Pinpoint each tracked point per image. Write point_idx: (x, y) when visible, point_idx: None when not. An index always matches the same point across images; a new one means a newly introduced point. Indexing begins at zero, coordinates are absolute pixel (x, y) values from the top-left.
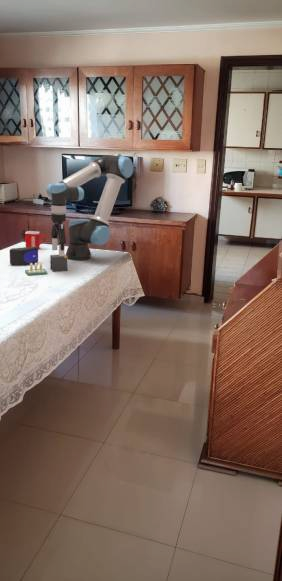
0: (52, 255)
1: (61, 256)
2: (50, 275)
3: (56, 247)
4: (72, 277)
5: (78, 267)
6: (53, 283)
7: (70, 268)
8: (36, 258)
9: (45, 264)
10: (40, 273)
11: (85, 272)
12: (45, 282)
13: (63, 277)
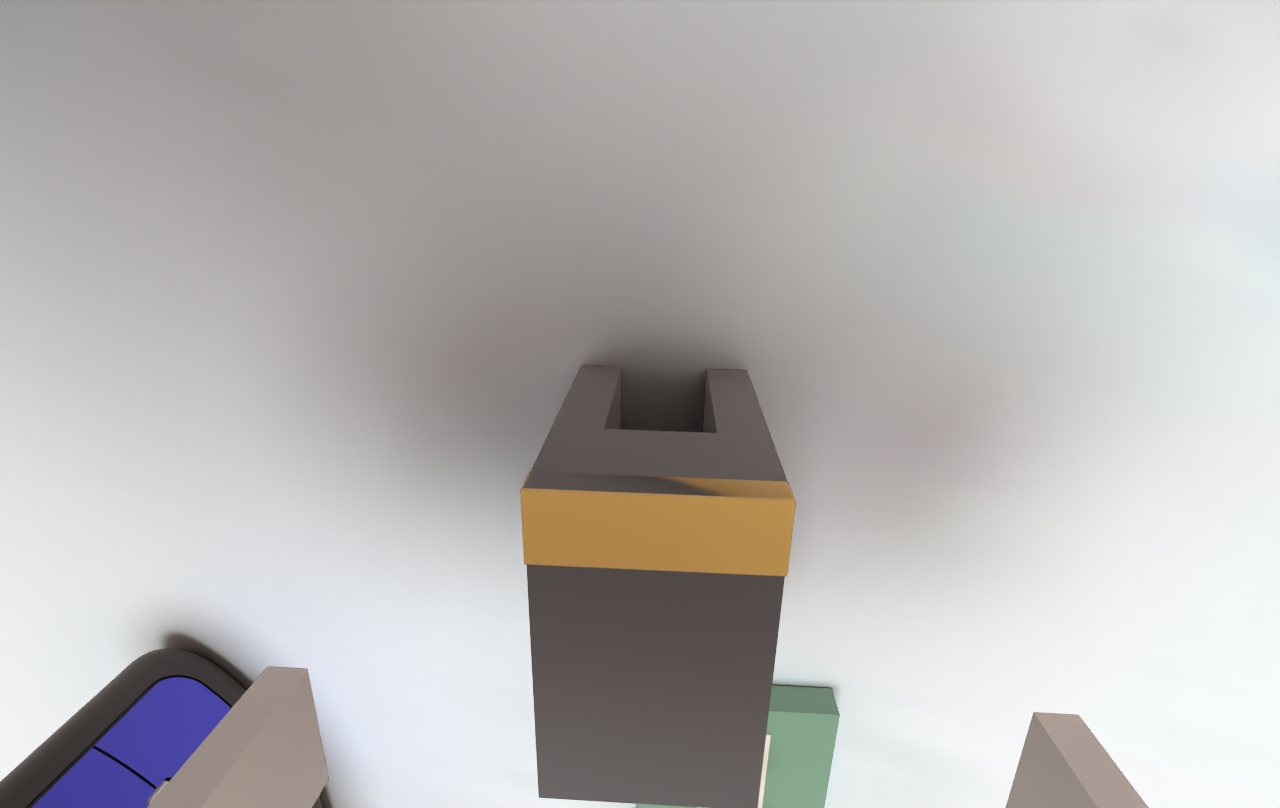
0: (582, 769)
1: (739, 630)
2: (898, 666)
3: (257, 763)
4: (1168, 415)
5: (583, 73)
6: (1273, 732)
7: (615, 264)
8: (175, 725)
9: (296, 572)
10: (823, 778)
11: (996, 54)
12: (1169, 794)
13: (1087, 541)
